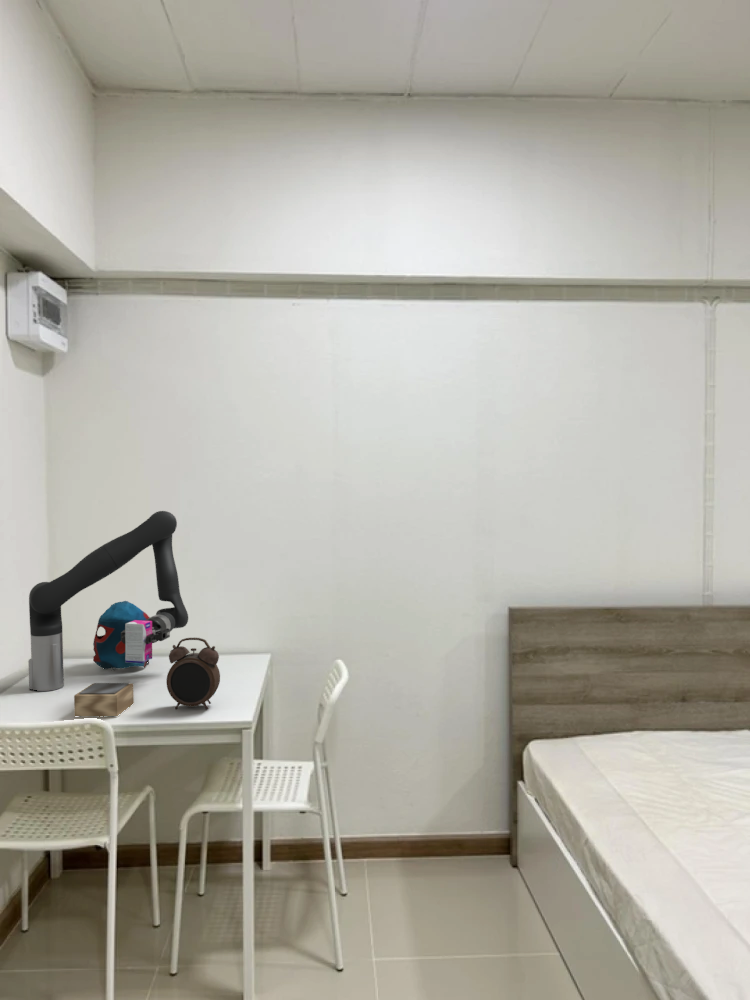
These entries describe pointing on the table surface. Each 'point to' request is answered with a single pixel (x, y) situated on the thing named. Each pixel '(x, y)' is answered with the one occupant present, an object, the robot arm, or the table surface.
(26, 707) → the table surface
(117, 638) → the mask
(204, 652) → the alarm clock
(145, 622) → the supplement box
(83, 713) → the pedestal
